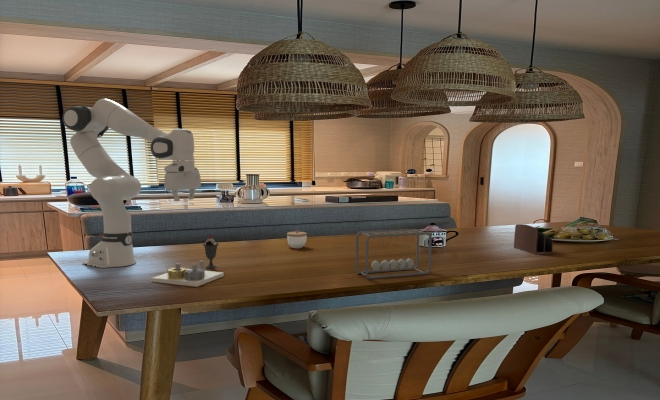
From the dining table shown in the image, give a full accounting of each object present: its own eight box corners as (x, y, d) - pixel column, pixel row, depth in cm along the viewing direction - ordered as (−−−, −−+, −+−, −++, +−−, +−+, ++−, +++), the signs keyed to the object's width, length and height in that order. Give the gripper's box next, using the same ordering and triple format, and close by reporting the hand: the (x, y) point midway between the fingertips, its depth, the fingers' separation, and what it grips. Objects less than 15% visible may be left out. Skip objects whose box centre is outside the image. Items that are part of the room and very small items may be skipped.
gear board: (152, 281, 184) (151, 263, 184) (181, 271, 201) (181, 255, 200) (196, 286, 177) (196, 267, 177) (223, 276, 194) (223, 258, 194)
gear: (165, 279, 182) (164, 271, 182) (171, 275, 189) (170, 267, 188) (183, 279, 182) (183, 271, 182) (188, 275, 189) (188, 267, 188)
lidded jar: (283, 248, 258) (283, 230, 257) (291, 245, 268) (291, 228, 268) (302, 249, 255) (302, 231, 254) (309, 246, 265) (309, 229, 264)
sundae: (212, 264, 215) (212, 231, 214) (222, 267, 211) (221, 232, 209) (199, 267, 210) (199, 232, 209) (209, 269, 205) (209, 234, 204)
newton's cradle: (365, 279, 191) (366, 235, 189) (354, 274, 201) (355, 231, 199) (431, 274, 202) (432, 231, 200) (417, 269, 211) (418, 228, 210)
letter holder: (535, 254, 248) (536, 227, 247) (513, 248, 267) (514, 222, 266) (552, 254, 250) (554, 227, 249) (529, 247, 269) (530, 222, 268)
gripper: (192, 167, 215) (192, 198, 216) (161, 167, 196) (162, 201, 197) (204, 167, 213) (204, 198, 214) (174, 167, 194) (175, 202, 195)
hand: (184, 200), depth 205 cm, fingers open, 8 cm apart
